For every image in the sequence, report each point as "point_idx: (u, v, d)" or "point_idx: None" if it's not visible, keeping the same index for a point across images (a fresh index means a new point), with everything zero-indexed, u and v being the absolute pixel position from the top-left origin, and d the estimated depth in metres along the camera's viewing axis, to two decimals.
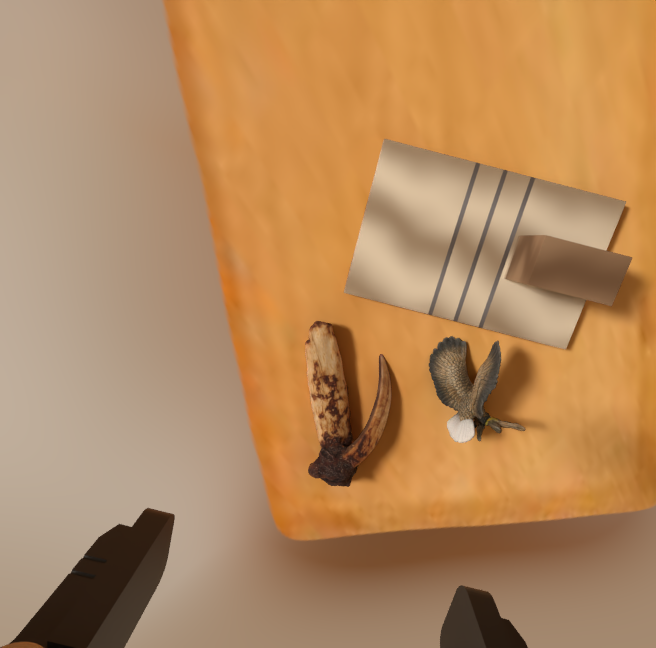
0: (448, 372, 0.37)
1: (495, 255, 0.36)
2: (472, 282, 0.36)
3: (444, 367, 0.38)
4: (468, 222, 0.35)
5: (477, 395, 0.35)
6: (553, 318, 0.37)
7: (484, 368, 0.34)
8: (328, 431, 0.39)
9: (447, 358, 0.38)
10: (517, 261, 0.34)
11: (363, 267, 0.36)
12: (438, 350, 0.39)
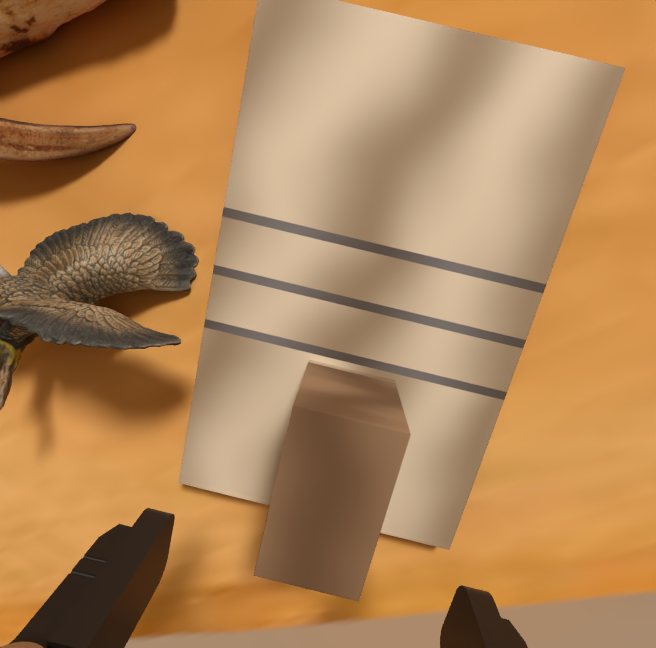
0: (108, 250, 0.16)
1: (354, 340, 0.17)
2: (298, 298, 0.17)
3: (119, 242, 0.17)
4: (423, 280, 0.17)
5: (35, 306, 0.14)
6: (235, 456, 0.19)
7: (107, 317, 0.14)
8: None
9: (143, 249, 0.17)
10: (344, 381, 0.16)
11: (324, 35, 0.15)
12: (163, 232, 0.18)
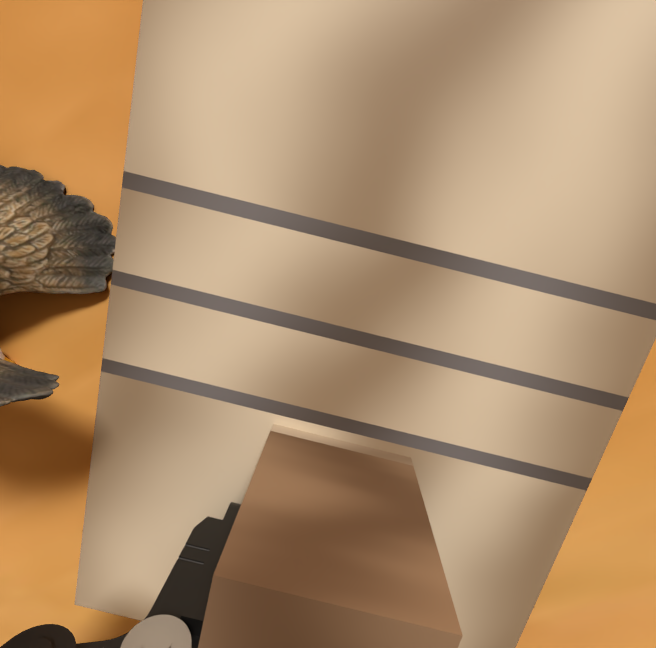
0: None
1: (347, 393, 0.11)
2: (254, 326, 0.10)
3: None
4: (463, 299, 0.10)
5: None
6: (160, 568, 0.12)
7: None
8: None
9: (16, 224, 0.10)
10: (329, 472, 0.09)
11: None
12: (56, 197, 0.11)
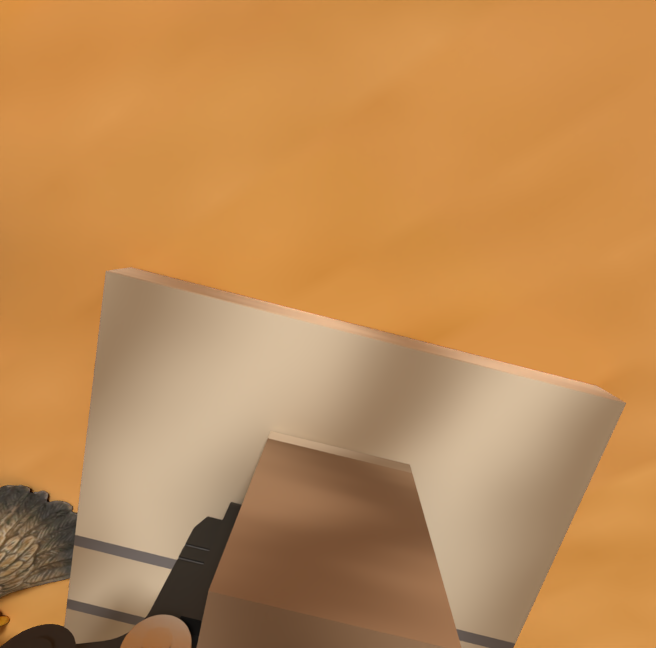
0: None
1: None
2: None
3: None
4: None
5: None
6: None
7: None
8: None
9: (7, 547, 0.12)
10: (327, 481, 0.09)
11: (201, 338, 0.10)
12: (41, 507, 0.13)
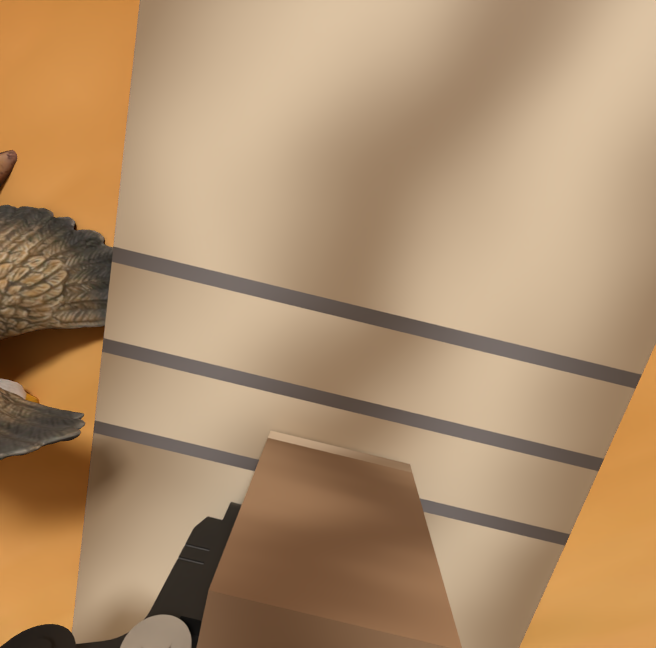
0: None
1: None
2: (241, 391, 0.11)
3: None
4: (442, 366, 0.10)
5: None
6: None
7: None
8: None
9: (30, 263, 0.10)
10: (327, 481, 0.09)
11: None
12: (67, 233, 0.11)
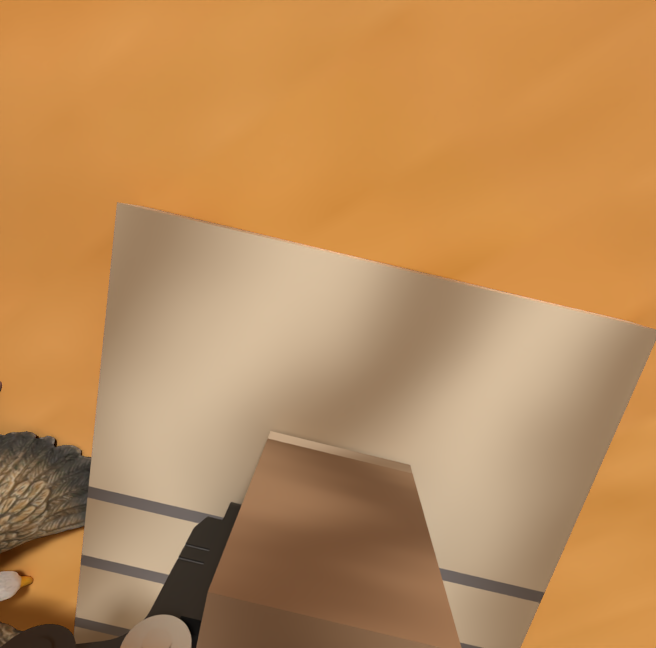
0: None
1: None
2: None
3: None
4: None
5: None
6: None
7: None
8: None
9: (17, 492, 0.12)
10: (327, 482, 0.09)
11: (216, 273, 0.10)
12: (48, 452, 0.12)
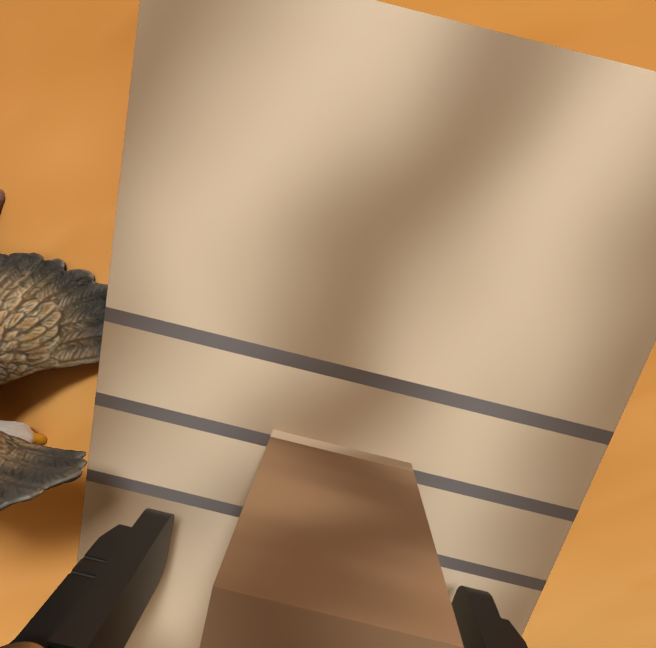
0: None
1: None
2: (229, 442, 0.11)
3: None
4: (422, 421, 0.11)
5: None
6: None
7: None
8: None
9: (25, 308, 0.10)
10: (329, 479, 0.09)
11: (257, 35, 0.09)
12: (58, 275, 0.11)
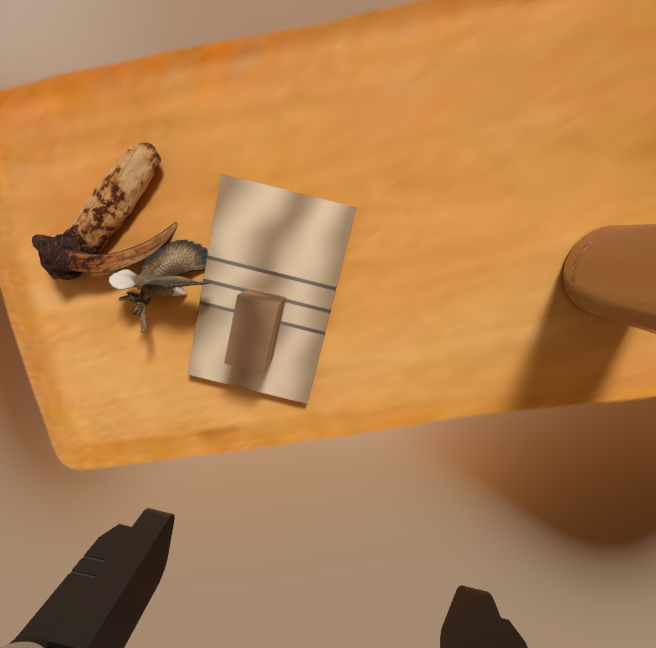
0: (173, 256, 0.40)
1: None
2: (238, 292, 0.42)
3: (177, 252, 0.40)
4: (288, 285, 0.41)
5: (156, 279, 0.38)
6: (212, 361, 0.43)
7: (182, 278, 0.38)
8: (79, 227, 0.39)
9: (186, 253, 0.41)
10: (262, 294, 0.40)
11: (245, 192, 0.39)
12: (192, 245, 0.41)
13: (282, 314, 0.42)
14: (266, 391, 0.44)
